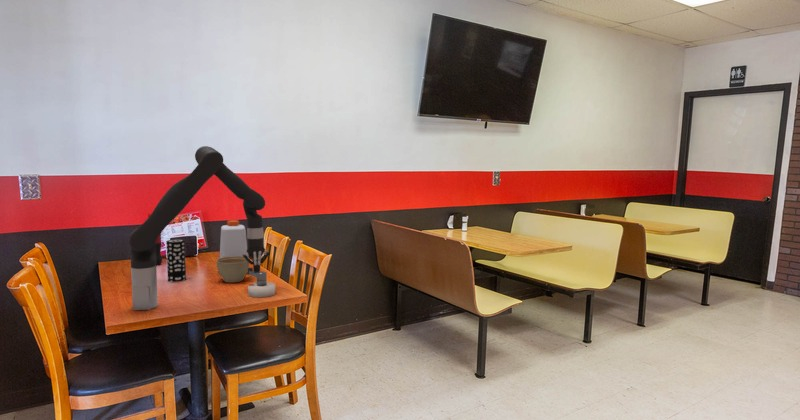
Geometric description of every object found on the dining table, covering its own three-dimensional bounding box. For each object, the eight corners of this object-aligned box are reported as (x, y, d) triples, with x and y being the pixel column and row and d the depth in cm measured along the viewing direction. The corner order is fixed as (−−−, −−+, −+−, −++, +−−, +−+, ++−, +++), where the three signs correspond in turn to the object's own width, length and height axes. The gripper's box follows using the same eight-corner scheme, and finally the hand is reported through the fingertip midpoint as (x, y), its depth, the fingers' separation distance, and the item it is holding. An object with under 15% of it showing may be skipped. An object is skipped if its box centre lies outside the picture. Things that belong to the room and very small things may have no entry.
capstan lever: (268, 284, 219) (268, 272, 218) (259, 286, 216) (259, 274, 215) (253, 278, 229) (253, 267, 228) (244, 280, 226) (244, 268, 225)
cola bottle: (146, 264, 271) (143, 212, 268) (162, 262, 275) (160, 211, 272) (145, 267, 264) (142, 213, 260) (162, 266, 267) (160, 213, 264)
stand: (273, 297, 214) (273, 287, 214) (246, 297, 212) (246, 287, 212) (276, 289, 226) (276, 280, 226) (250, 290, 224) (250, 280, 224)
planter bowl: (215, 285, 231) (214, 263, 230) (218, 277, 247) (217, 256, 245) (249, 283, 235) (249, 262, 234) (250, 275, 251) (250, 255, 250)
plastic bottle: (249, 274, 254) (248, 222, 251) (219, 276, 248) (218, 223, 245) (247, 267, 268) (246, 218, 265) (218, 269, 262) (217, 219, 259)
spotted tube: (178, 282, 235) (177, 242, 232) (164, 281, 236) (162, 241, 234) (189, 278, 243) (188, 239, 241) (175, 277, 244) (173, 239, 242)
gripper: (266, 234, 232) (267, 268, 234) (239, 237, 225) (240, 272, 227) (271, 236, 226) (272, 272, 228) (243, 239, 219) (245, 276, 221)
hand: (256, 272), depth 228 cm, fingers closed
